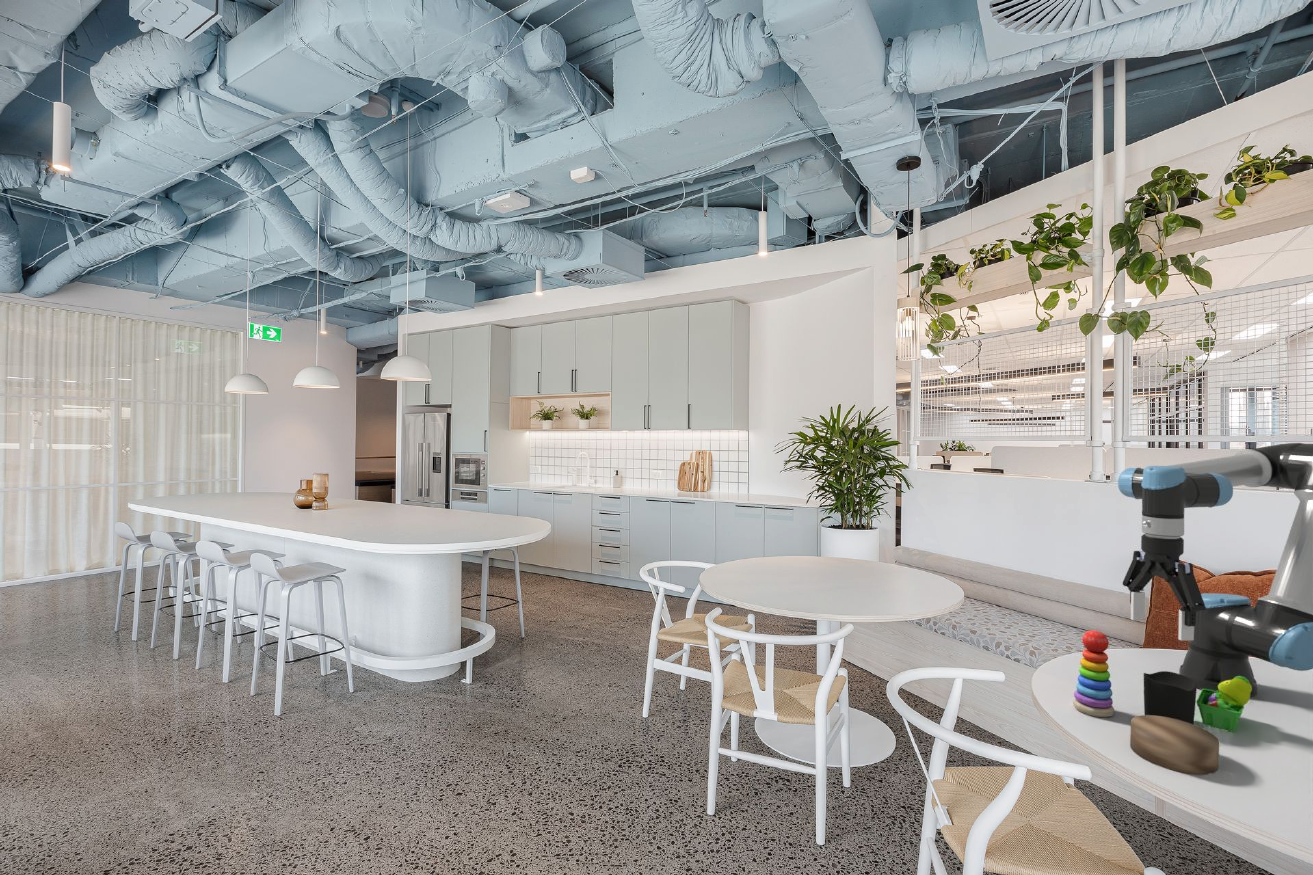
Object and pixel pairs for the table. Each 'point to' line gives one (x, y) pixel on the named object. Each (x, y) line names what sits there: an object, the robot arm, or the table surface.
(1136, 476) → the robot arm
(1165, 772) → the table surface
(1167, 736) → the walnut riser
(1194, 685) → the pen holder
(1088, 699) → the stacking toy
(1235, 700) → the fruit basket
